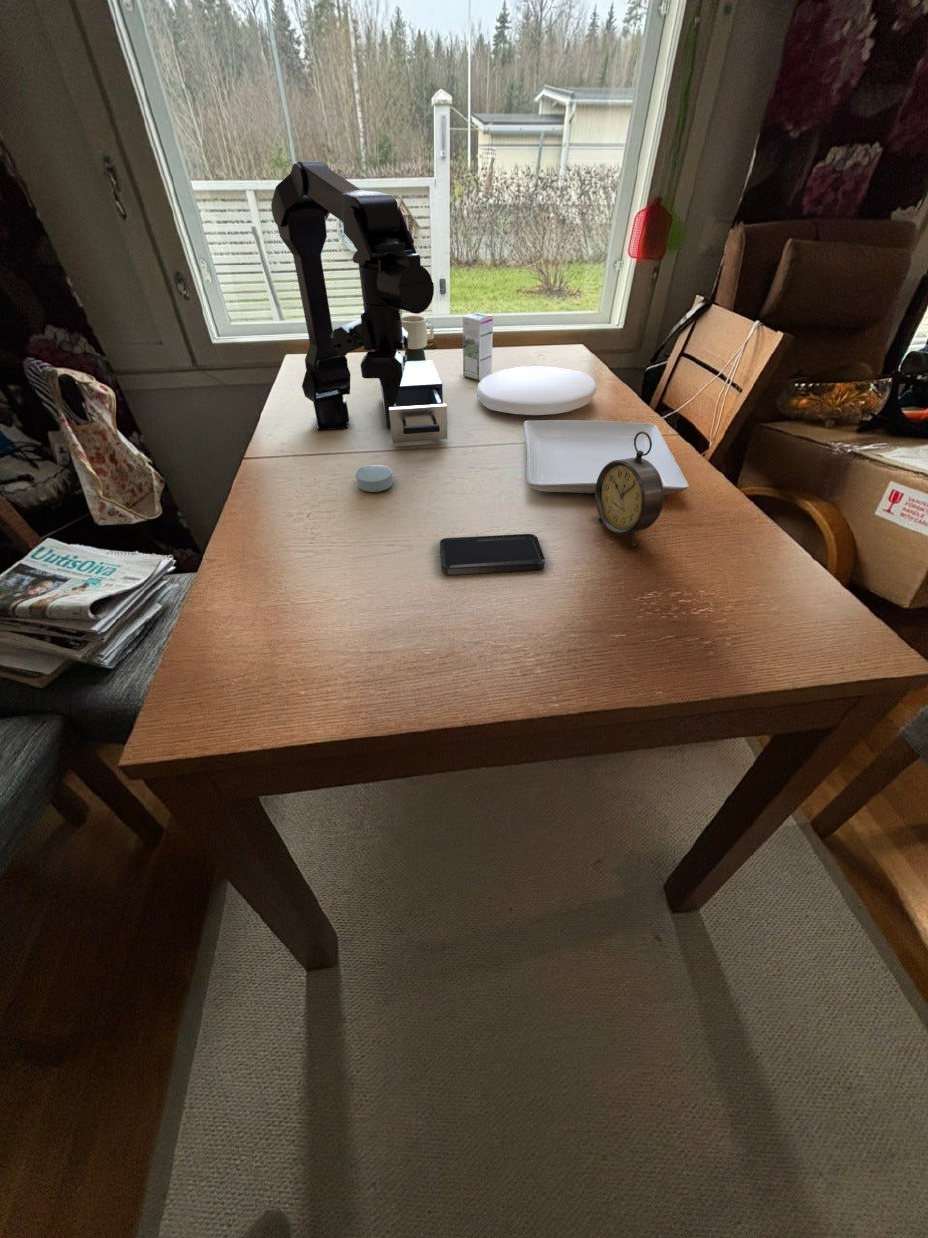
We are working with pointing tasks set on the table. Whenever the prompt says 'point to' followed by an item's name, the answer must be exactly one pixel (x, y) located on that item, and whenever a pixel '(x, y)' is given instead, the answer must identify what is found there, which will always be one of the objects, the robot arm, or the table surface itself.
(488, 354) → the syrup box
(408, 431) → the drawer
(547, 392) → the white rounded disc
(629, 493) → the alarm clock
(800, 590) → the table surface
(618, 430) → the square plate
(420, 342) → the character mug
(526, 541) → the phone
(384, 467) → the pale blue short cylinder
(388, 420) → the cabinet
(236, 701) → the table surface
